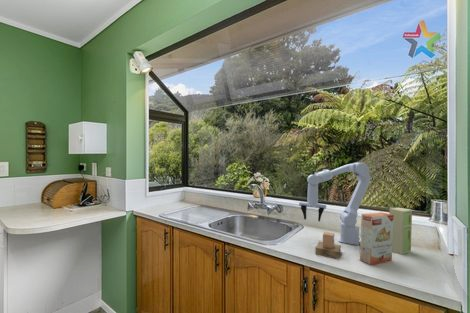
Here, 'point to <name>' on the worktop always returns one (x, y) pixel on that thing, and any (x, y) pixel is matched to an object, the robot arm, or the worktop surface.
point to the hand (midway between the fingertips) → (312, 220)
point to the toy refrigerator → (401, 230)
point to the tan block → (328, 240)
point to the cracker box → (376, 238)
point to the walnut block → (328, 250)
